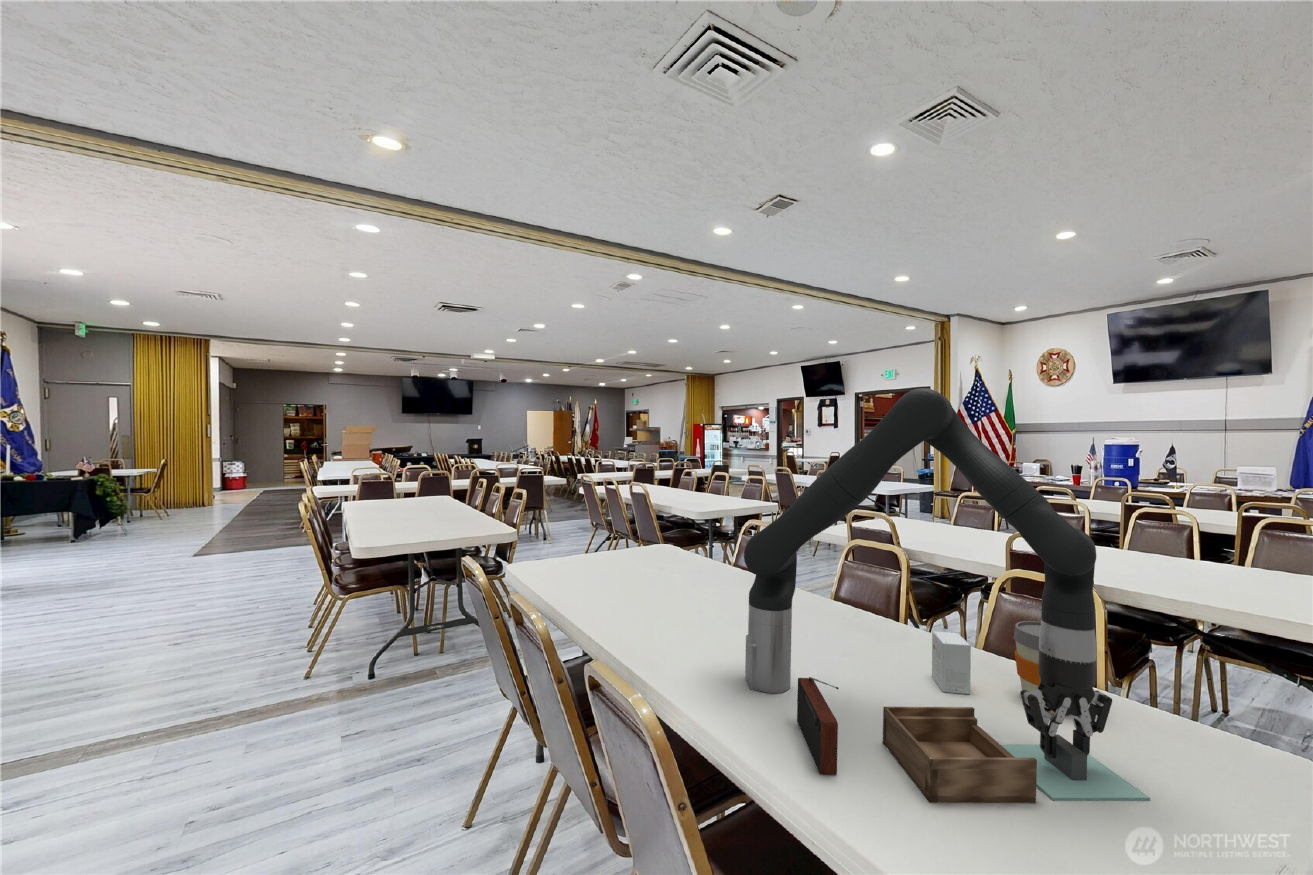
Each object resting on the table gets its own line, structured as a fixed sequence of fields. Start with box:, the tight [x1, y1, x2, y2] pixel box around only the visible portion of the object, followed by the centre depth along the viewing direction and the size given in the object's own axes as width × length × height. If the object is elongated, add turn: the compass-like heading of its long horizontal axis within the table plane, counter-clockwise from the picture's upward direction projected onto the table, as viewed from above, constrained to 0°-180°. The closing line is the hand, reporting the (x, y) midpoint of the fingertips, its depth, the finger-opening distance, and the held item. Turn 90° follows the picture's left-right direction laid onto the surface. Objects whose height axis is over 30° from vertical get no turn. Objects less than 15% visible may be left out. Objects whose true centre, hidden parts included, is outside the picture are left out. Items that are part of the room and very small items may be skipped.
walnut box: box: [882, 706, 1037, 804], centre depth 90 cm, size 16×16×6 cm
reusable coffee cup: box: [1013, 620, 1055, 715], centre depth 114 cm, size 12×13×15 cm
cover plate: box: [999, 734, 1151, 802], centre depth 90 cm, size 15×14×5 cm
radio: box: [796, 676, 839, 776], centre depth 95 cm, size 19×3×15 cm, turn 178°
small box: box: [931, 630, 972, 695], centre depth 122 cm, size 8×6×10 cm
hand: (1064, 755), depth 91 cm, fingers open, 4 cm apart
